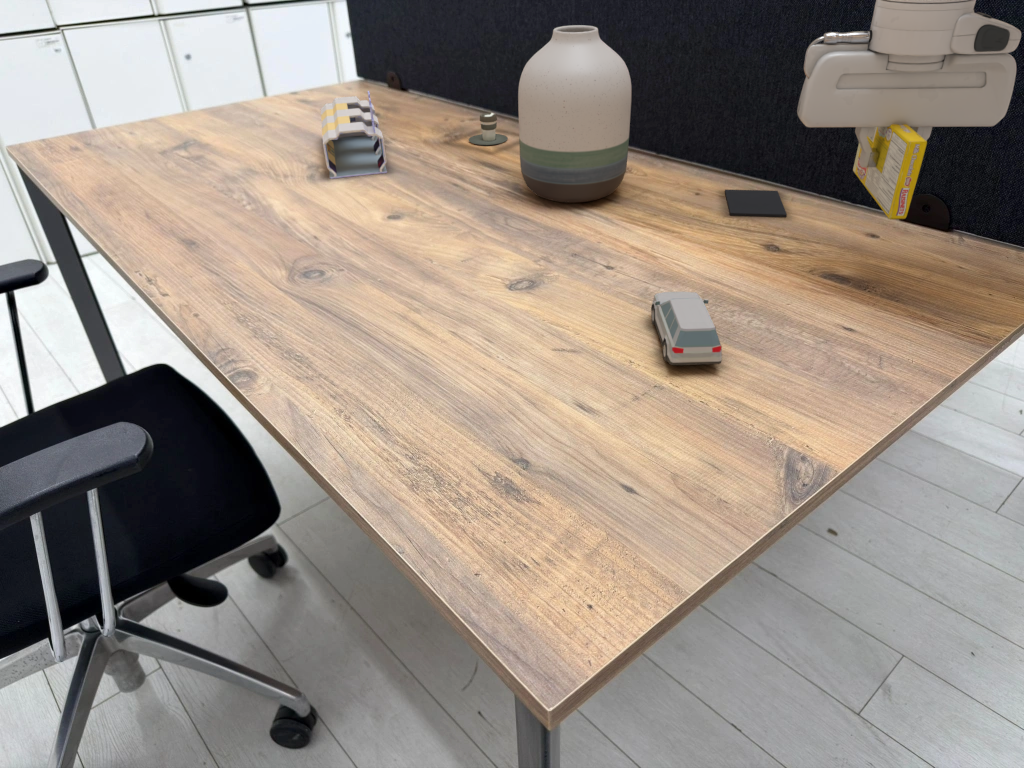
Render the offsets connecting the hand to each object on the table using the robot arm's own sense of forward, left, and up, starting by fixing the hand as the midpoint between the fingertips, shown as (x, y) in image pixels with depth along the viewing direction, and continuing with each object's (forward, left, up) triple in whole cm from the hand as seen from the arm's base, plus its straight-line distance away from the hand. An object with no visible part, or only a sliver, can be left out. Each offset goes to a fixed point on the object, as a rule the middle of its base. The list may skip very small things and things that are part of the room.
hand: (884, 166), depth 81 cm
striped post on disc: (+56, -56, -14) cm, 80 cm away
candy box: (0, 0, -3) cm, 3 cm away
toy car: (+21, +17, -14) cm, 31 cm away
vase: (+37, -28, -14) cm, 49 cm away
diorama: (+80, -45, -14) cm, 93 cm away
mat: (+9, -25, -14) cm, 30 cm away
